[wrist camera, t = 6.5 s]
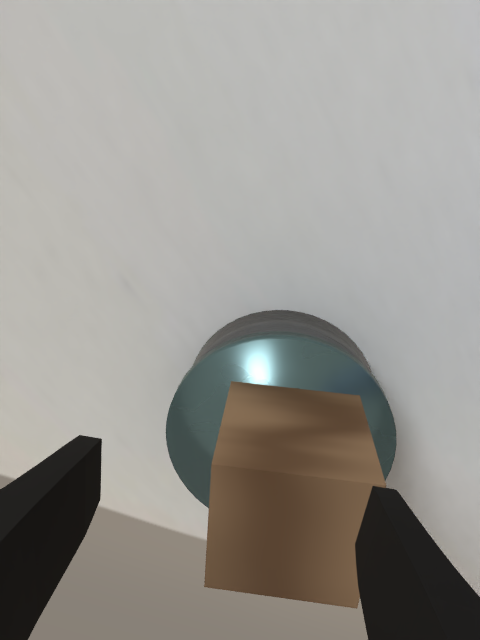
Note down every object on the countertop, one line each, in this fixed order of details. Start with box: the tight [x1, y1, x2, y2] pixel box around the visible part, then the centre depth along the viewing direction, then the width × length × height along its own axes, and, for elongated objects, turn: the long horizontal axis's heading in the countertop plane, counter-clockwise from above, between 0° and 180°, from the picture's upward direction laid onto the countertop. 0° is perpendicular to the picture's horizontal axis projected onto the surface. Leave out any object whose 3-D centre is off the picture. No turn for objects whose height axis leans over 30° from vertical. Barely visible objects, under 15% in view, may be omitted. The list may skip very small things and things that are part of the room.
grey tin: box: [166, 310, 396, 508], centre depth 20 cm, size 9×9×4 cm
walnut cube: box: [204, 381, 386, 608], centre depth 16 cm, size 5×5×5 cm
